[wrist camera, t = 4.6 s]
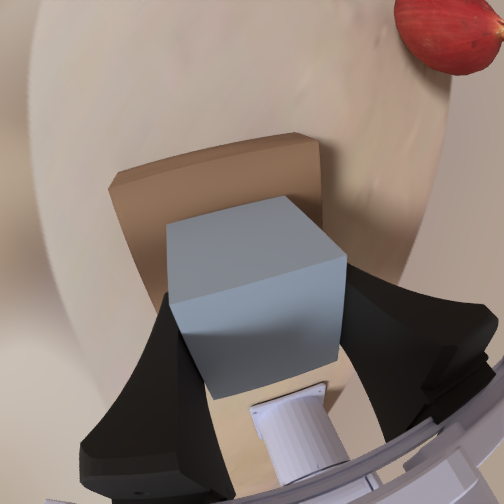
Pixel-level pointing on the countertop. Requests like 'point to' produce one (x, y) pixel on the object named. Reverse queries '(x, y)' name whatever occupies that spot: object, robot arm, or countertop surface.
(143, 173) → the base
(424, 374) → the robot arm
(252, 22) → the countertop surface
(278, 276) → the cube
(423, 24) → the onion
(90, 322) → the countertop surface
